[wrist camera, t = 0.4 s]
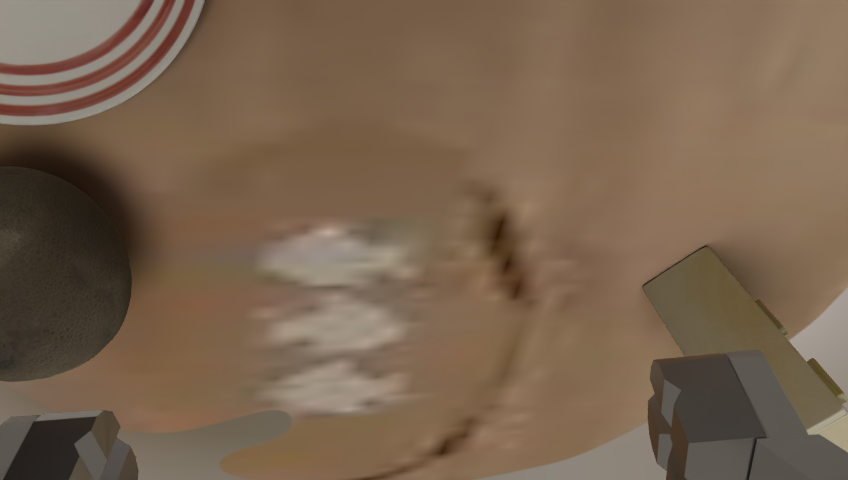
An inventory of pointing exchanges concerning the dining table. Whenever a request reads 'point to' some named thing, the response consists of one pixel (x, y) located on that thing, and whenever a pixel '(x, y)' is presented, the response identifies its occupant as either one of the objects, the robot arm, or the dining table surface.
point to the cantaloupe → (56, 276)
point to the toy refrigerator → (744, 337)
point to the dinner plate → (84, 54)
